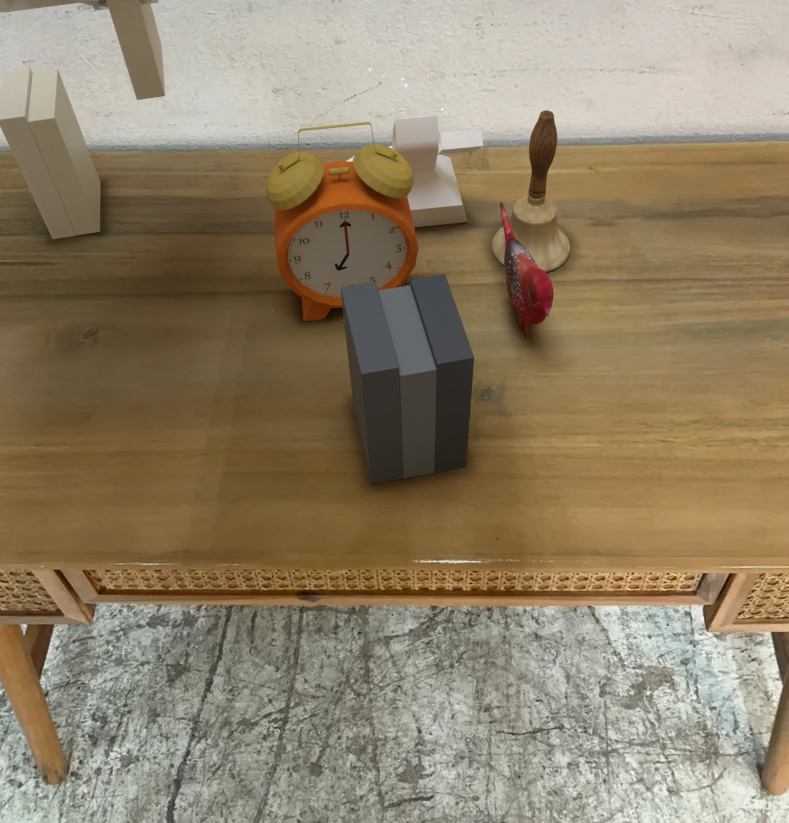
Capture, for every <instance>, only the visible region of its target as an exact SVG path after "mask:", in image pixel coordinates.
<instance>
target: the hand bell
mask: <svg viewBox="0 0 789 823" xmlns="http://www.w3.org/2000/svg"><path fill="white" fill-rule="evenodd" d="M530 134H531V135H530V137H529V146H528V157H529V163H530V168H531V173H530V174H531V175H530V181H529V188H528V194H527V195H525V196H522V197H520V198H519V199H518V200H516V201H515V203H514V204H513V207H512V212H511V215H510V218H509V222H510V225H511V228H512V231H513V234H514V236H515V238H516V240H518V241H519V242H520V243H521V244H522V245H523V246H524V247H525V248H526V249H527V251H528V252H529V253H530V254H531V256H532V257H533V259H534V261H535V262H536V264H537V266H538V267H539V268H540V269H543V270H544V271H545V272H546V273H548V272H552V271H554V270H556V269H558V268H560V267H561V266H562V265H564V263H565V262H566V261H567V260H568V258H569V256H570V252H571V244H570V241H569V239H568V237H567V235H566V233H565V232H563V230H562V229H561V228H560V227H559V225H558V207H557V205H556V204H555V202H554V201H553V200H552V199H551V198H549V197H547V196H546V194H547V180H548V173H549V170H550V168H551V166H552V163H553V162H554V159H555V157H556V152H557V146H558V130H557V126H556V121H555V114H554V112H553V111H551V110H542V111H541V112H540V113H539V116H538V118H537V121H536V123H535V124H534V127H533V129H532V131H531V133H530ZM494 234H495V235H494V236H493V238H492V241H491V252H492V254H493V256H494V258H495V259H496V260H497V261H498V262H499V263H500V264H501V265H502V266H504V267H505V264H504V253H505V234H504V228H503V226H502V227H500V228H499V229H498V230H497V232H496V233H494Z"/></svg>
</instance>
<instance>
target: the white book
mask: <svg viewBox="0 0 789 823" xmlns="http://www.w3.org/2000/svg"><path fill="white" fill-rule="evenodd" d="M106 1H107V4H108V8H109V9H108V11H109V14H110V17H111V20H112V23H113V27H114V31H115V33H116V36H117V40H118V44H119V46H120V50H121V53H122V56H123V59H124V62H125V66H126V69H127V72H128V76H129V79H130V81H131V86H132V89H133V92H134V95H135V98H136V99H135V100H137V101H141V100H147V99H154V98H162V97H165V96H166V90H165V89H166V88H165V75H164V59H163V45H162V42H161V38H160V34H159V31H158V27H157V23H156V19H155V15H154V10H153V8H152V3H151V4H142V3H141V1H140V0H106Z"/></svg>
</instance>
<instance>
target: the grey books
mask: <svg viewBox="0 0 789 823" xmlns="http://www.w3.org/2000/svg"><path fill="white" fill-rule="evenodd" d="M341 297H342V306H343V308H342V315H343V324H344V325H343V326H344V332H345V341H346V342H345V343H346V351H347V361H348V369H349V380H350V388H351V396H352V397H351V398H352V405H353V409H354V413H355V414H354V415H355V418H356V423H357V428H358V431H359V436H360V439H361V446H362V449H363V454H364V458H365V462H366V468H367V471H368V476H369V481H370V485H377V484H382V483H387V482H388V483H389V482H393V481H398V480H402V479H410V478H414V477H419V476H420V477H421V476H426V475H431V474H434V473H441V472H447V471H451V470H457V469H461V468H466V467H467V461H468V460H467V458H468V445H469V432H470V420H471V406H472V405H471V404H472V394H473V393H472V392H473V382H474V381H473V378H474V367H475V366H474V365H475V354H474V353H473V350H472V347H471V345H470V342H469V338H468V335H467V333H466V329H465V327H464V324H463V321H462V319H461V315H460V313H459V311H458V310H459V309H458V307H457V304H456V302H455V299H454V296H453V292H452V290H451V287H450V285H449V281H448V280H447V276H446V274H445V273H442V274H435V275H429V276H423V277H417V278H412V279H410V284H409V285H401V286H400V287H396V288H390V289H384V290H378V289H377V286H376V283H375V282H372V283H366V284H360V285H354V286H347V287H341Z"/></svg>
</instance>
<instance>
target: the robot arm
mask: <svg viewBox="0 0 789 823" xmlns="http://www.w3.org/2000/svg"><path fill="white" fill-rule="evenodd" d="M140 1H141V3H142V4H151V5H152V4H159V0H140ZM74 4H81V5H82V4H83V5H87V6H91V7H92V8H93V10H94V11H96V12H97V11H104V10H109V8H108V4H107V1H106V0H0V13H3V14H5V13H12V12H18V11H19V12H21V11H27V10H34V9H43V8H50V7H51V8H52V7H57V6H65V5H74Z"/></svg>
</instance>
